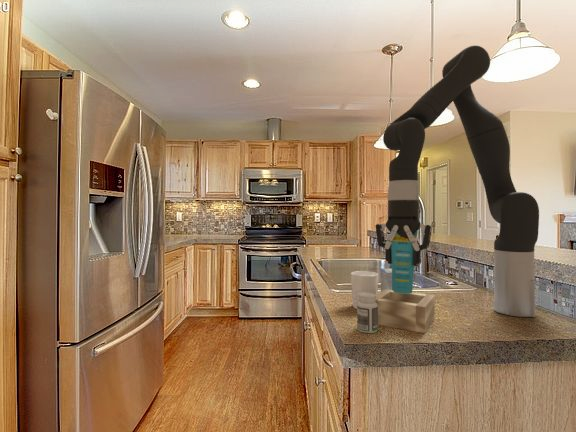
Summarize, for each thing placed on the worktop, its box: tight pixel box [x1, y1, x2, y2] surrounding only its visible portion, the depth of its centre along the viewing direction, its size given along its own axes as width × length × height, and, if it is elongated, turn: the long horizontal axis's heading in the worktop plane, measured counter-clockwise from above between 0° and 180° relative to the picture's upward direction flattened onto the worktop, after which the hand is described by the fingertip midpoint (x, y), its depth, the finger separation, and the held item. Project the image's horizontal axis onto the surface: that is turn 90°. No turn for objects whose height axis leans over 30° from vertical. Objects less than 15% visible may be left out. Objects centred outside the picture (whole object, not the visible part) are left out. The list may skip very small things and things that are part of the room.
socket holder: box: [375, 289, 436, 334], centre depth 84 cm, size 13×13×6 cm
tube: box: [389, 229, 418, 294], centre depth 84 cm, size 7×5×19 cm, turn 72°
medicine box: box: [380, 268, 392, 292], centre depth 110 cm, size 8×4×9 cm, turn 179°
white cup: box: [350, 270, 379, 310], centre depth 96 cm, size 8×8×10 cm
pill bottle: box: [356, 293, 379, 334], centre depth 77 cm, size 5×5×8 cm
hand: (402, 264), depth 84 cm, fingers closed on tube, 6 cm apart
